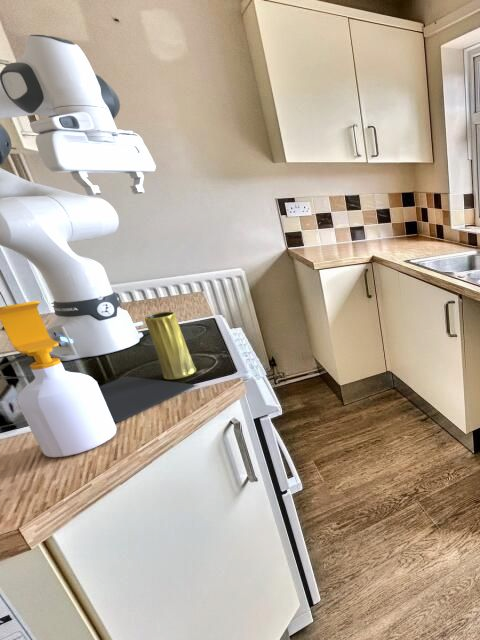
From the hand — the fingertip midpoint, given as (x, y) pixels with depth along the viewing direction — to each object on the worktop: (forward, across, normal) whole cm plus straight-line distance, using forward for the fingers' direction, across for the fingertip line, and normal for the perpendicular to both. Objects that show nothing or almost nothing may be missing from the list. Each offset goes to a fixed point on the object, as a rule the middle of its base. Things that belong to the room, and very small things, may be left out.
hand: (118, 194), depth 94 cm
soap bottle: (+41, +36, +17) cm, 57 cm away
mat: (+40, +21, +7) cm, 46 cm away
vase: (+40, +10, +9) cm, 42 cm away
